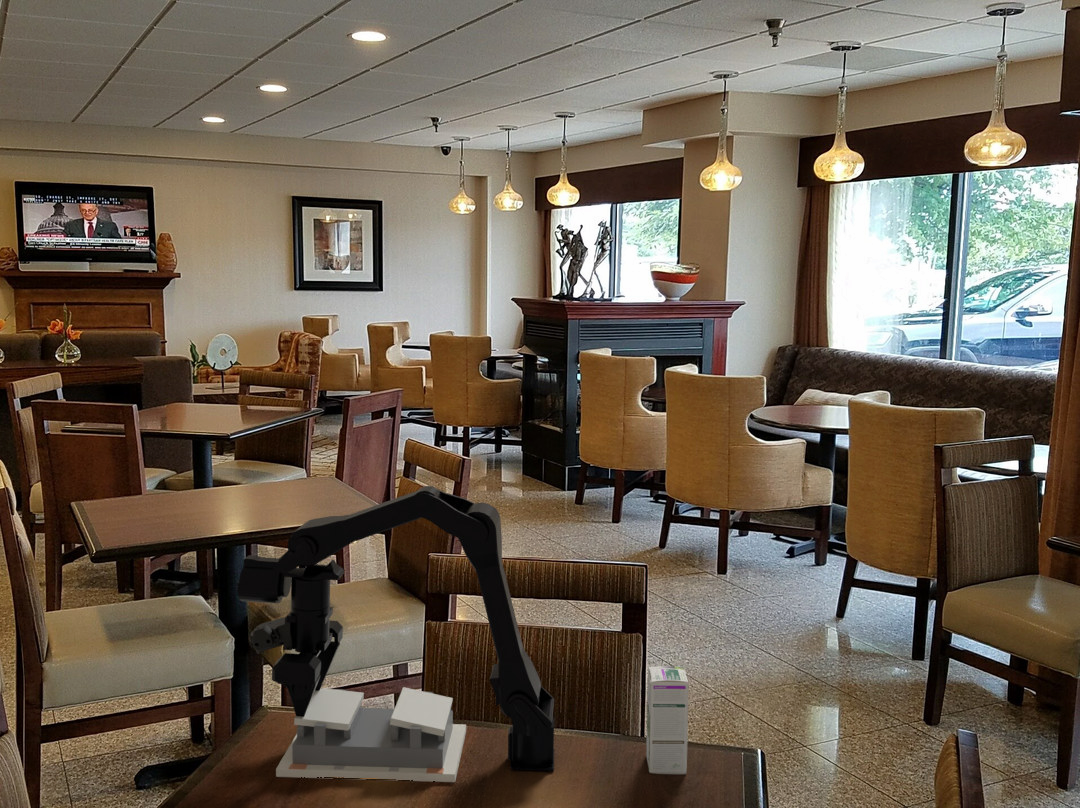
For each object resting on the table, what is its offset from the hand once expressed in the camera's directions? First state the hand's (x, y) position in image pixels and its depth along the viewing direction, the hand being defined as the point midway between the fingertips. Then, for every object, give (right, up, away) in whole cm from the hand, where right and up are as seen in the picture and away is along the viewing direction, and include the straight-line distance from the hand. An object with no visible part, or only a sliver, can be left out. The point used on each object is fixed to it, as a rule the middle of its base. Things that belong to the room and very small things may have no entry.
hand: (308, 703), depth 150 cm
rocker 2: (+17, -1, 0) cm, 17 cm away
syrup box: (+54, -9, -1) cm, 55 cm away
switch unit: (+10, -8, +1) cm, 13 cm away
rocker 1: (+3, -1, 0) cm, 3 cm away
